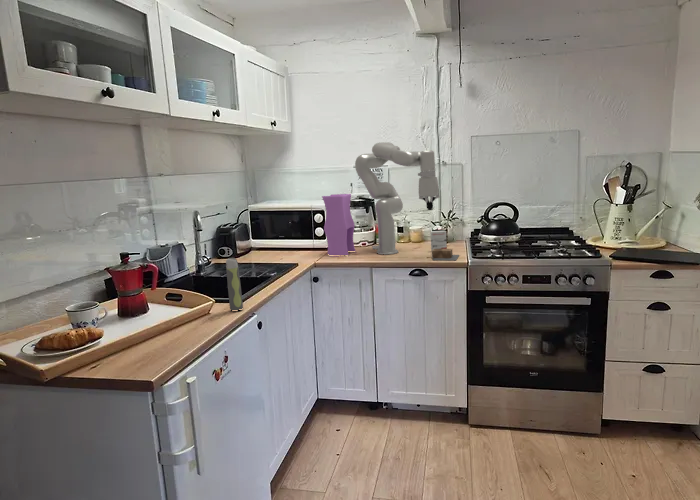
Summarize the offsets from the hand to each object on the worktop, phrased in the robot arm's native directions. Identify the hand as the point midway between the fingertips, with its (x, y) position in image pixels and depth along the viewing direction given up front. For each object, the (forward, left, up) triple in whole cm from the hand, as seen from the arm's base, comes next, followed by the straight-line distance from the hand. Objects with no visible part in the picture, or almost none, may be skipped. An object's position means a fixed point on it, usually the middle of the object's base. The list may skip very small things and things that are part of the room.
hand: (429, 209), depth 252 cm
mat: (+8, 0, -26) cm, 27 cm away
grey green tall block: (-54, -103, -26) cm, 119 cm away
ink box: (+1, +19, -26) cm, 32 cm away
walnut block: (+1, 0, -23) cm, 23 cm away
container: (-55, +9, -26) cm, 62 cm away
